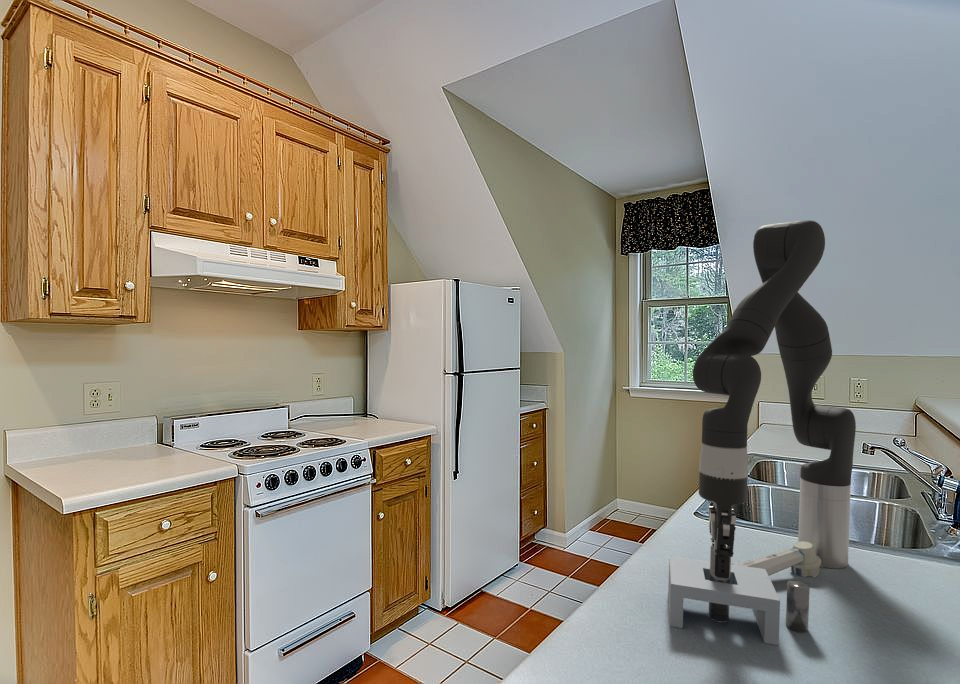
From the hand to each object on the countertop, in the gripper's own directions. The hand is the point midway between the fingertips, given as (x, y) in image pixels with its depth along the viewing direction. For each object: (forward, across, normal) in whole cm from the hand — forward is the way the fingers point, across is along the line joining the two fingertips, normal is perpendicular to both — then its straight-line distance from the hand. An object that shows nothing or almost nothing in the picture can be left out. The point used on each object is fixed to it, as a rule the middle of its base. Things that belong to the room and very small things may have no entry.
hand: (720, 570), depth 93 cm
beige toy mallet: (+8, +19, -11) cm, 24 cm away
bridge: (+8, 0, 0) cm, 8 cm away
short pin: (+8, +1, -12) cm, 14 cm away
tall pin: (+8, 0, 0) cm, 8 cm away
